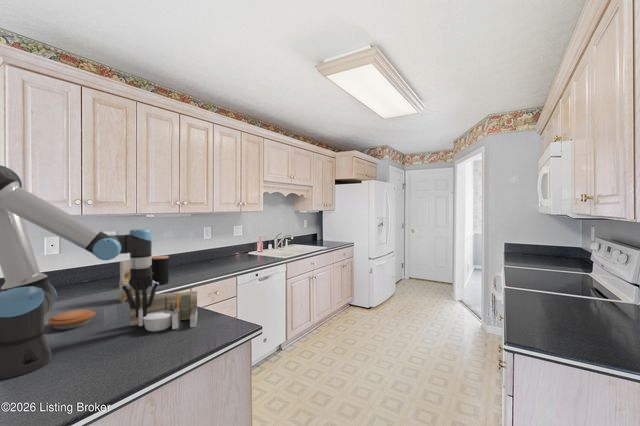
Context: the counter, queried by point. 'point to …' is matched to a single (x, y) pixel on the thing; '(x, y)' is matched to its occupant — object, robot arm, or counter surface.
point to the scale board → (168, 304)
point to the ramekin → (158, 320)
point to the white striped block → (193, 317)
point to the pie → (71, 319)
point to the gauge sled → (176, 315)
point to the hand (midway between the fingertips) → (141, 324)
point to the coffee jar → (160, 269)
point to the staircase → (125, 280)
